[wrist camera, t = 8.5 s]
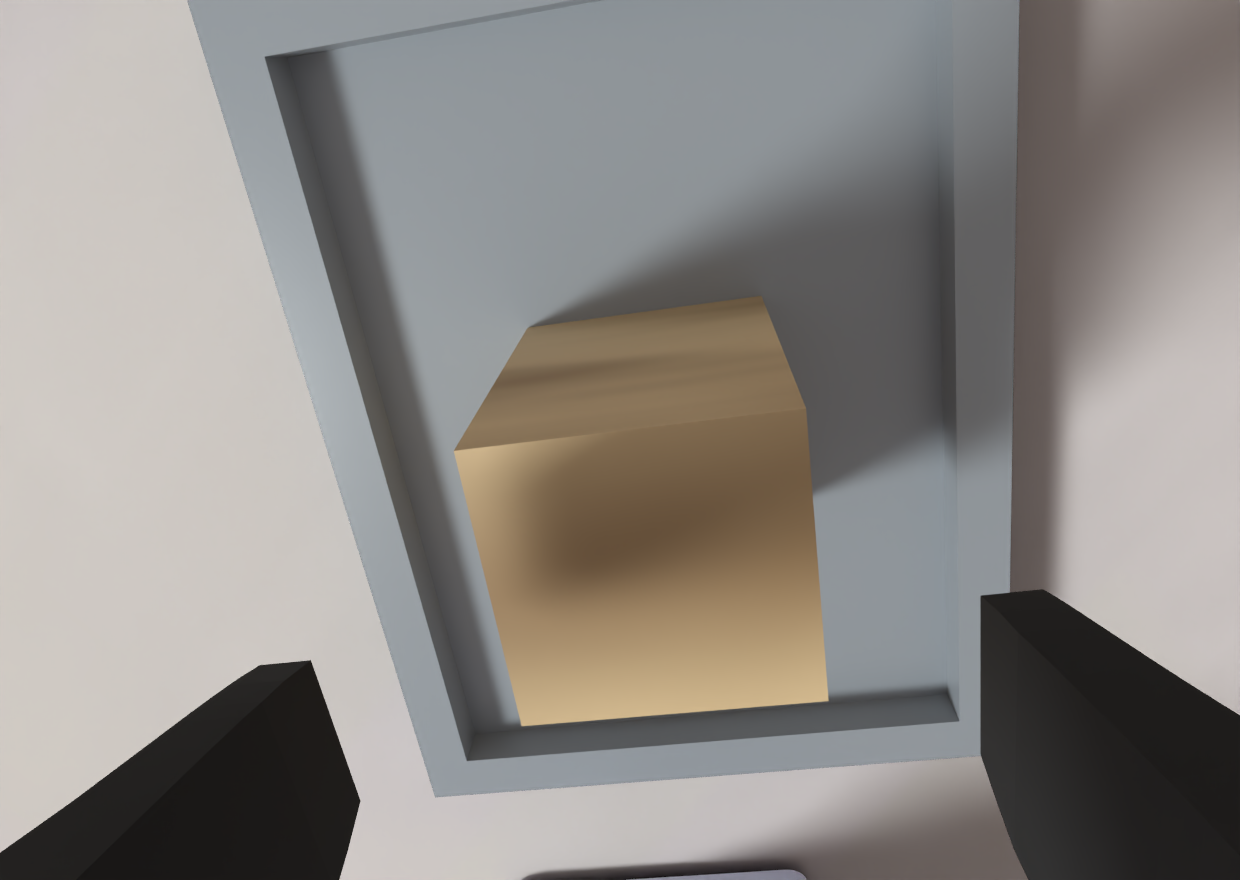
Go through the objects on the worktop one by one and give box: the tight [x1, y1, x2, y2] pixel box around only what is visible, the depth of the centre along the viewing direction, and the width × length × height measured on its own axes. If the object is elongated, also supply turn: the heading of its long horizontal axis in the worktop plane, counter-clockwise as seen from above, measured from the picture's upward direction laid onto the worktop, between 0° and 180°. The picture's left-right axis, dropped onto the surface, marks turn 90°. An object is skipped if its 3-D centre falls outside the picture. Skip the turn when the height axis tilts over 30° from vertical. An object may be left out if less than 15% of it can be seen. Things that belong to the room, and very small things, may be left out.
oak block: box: [454, 296, 829, 726], centre depth 14 cm, size 4×4×6 cm
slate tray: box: [188, 0, 1019, 797], centre depth 17 cm, size 17×13×2 cm
